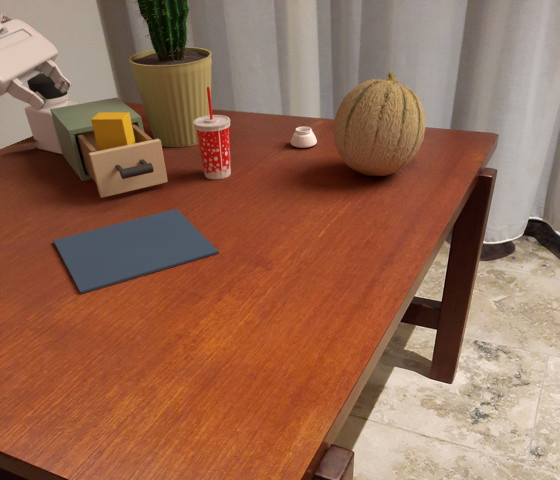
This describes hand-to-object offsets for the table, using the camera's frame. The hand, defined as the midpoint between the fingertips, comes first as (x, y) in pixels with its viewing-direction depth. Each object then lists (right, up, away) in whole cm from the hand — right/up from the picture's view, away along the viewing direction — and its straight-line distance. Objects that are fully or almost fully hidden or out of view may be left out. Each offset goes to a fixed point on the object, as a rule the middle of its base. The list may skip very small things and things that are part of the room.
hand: (56, 97), depth 88 cm
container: (-8, +2, +24) cm, 25 cm away
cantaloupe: (+52, -10, +7) cm, 53 cm away
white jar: (+40, 0, +19) cm, 44 cm away
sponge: (+9, -9, +7) cm, 14 cm away
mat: (+15, -26, -10) cm, 32 cm away
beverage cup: (+25, -9, +10) cm, 28 cm away
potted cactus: (+16, +4, +25) cm, 30 cm away
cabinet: (+3, -4, +16) cm, 17 cm away
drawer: (+9, -11, +6) cm, 16 cm away
